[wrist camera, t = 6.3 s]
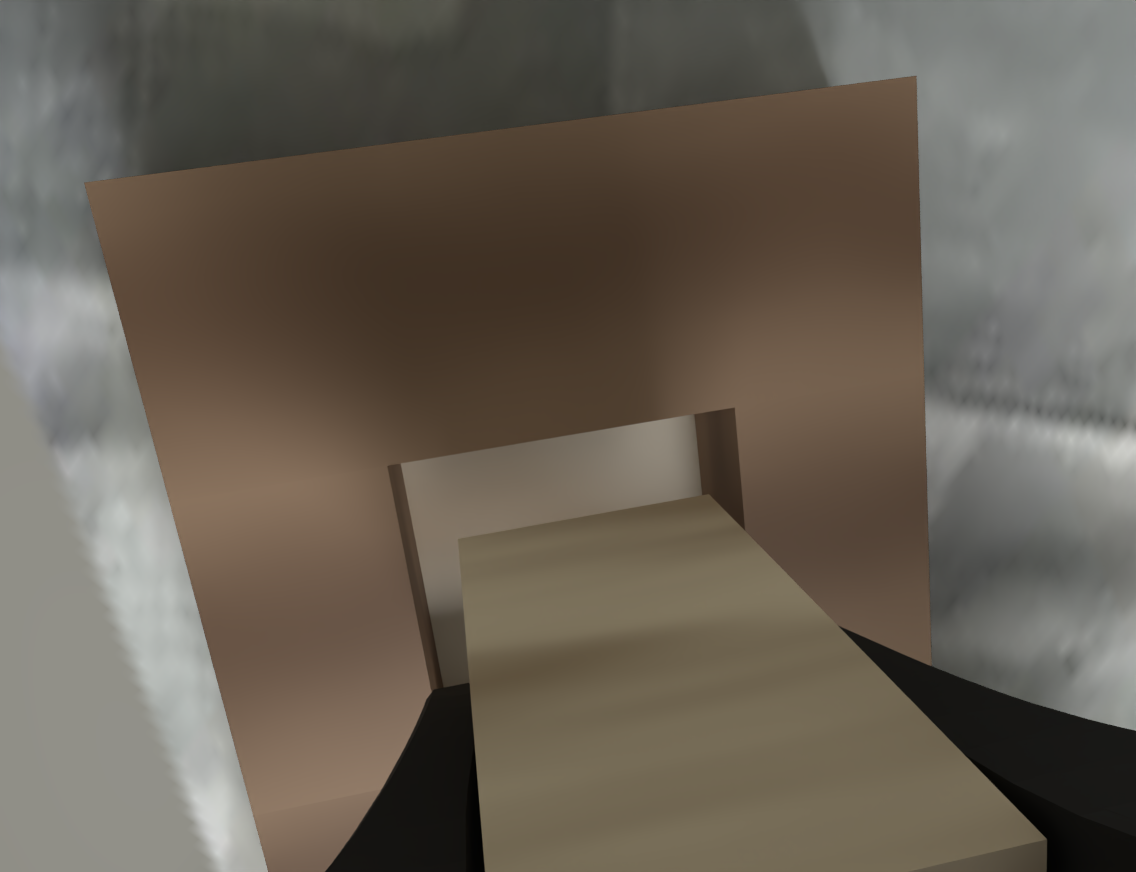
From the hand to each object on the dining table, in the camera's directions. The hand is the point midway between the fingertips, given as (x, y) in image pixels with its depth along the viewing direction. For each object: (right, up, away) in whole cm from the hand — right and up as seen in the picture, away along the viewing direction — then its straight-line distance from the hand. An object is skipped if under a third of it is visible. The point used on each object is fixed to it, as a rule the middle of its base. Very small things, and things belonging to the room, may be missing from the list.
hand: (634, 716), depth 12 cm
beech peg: (0, +1, +2) cm, 2 cm away
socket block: (-1, +2, +7) cm, 7 cm away
